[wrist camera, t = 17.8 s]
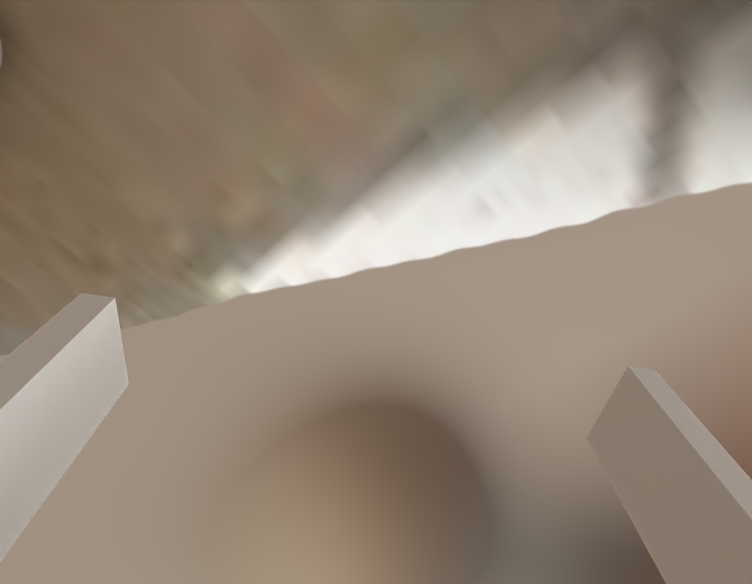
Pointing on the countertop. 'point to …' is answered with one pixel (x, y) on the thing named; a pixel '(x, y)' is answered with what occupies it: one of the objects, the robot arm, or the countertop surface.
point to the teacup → (0, 55)
